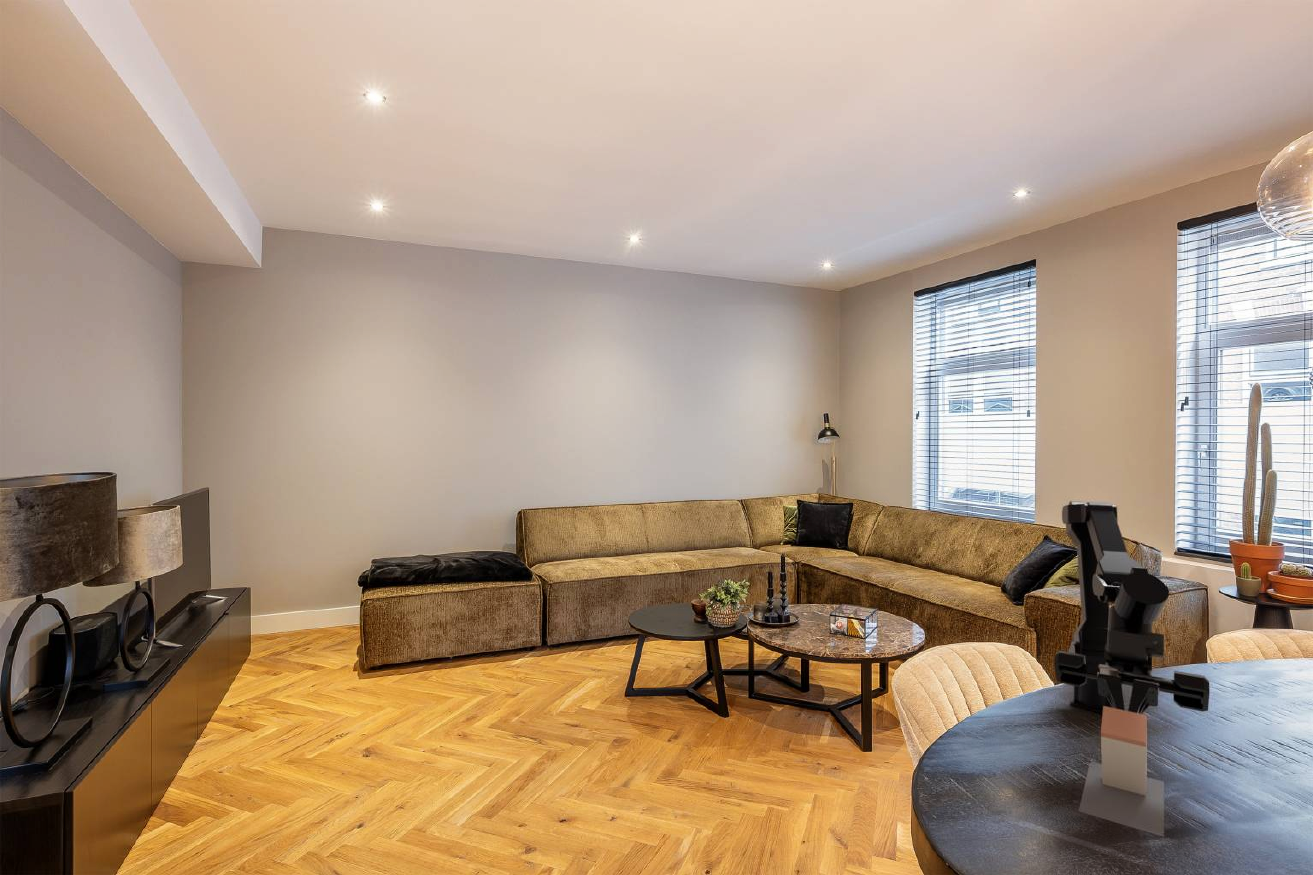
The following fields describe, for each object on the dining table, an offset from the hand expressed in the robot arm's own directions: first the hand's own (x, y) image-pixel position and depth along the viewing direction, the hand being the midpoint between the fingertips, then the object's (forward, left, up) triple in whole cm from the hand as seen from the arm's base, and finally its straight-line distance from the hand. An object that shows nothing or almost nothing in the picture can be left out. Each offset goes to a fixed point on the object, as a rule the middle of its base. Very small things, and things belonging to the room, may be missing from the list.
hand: (1125, 732), depth 94 cm
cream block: (0, 0, -6) cm, 6 cm away
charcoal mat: (+1, -4, -8) cm, 9 cm away
